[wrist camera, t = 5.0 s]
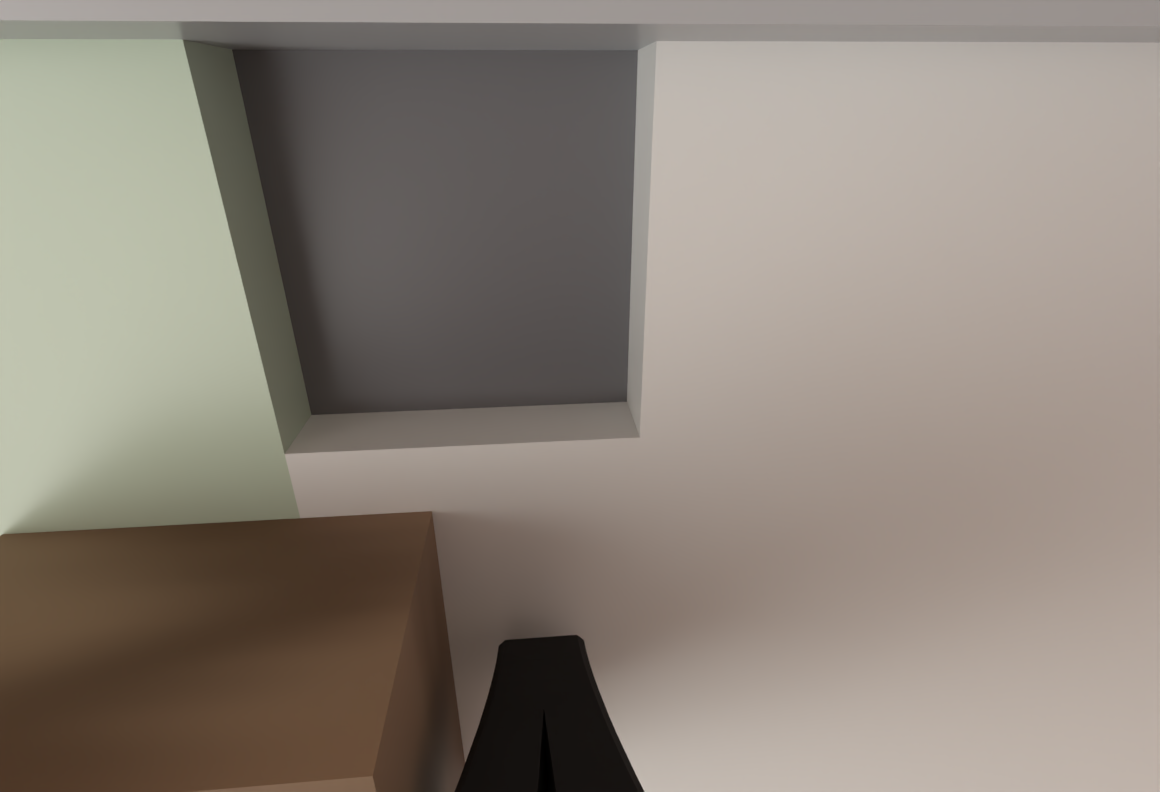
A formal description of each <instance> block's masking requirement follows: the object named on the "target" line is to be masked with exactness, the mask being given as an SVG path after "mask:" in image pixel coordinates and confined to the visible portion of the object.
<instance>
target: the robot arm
mask: <svg viewBox="0 0 1160 792" xmlns="http://www.w3.org/2000/svg"><path fill="white" fill-rule="evenodd" d="M455 792H644V790H643V788H642V786H641V784H640V782H639V780H638V778H637V776H636V774H635V771H634V769H633V767H632V765H631V763H630V761H629V759H628V757H627V754H626V752H625V750H624V748H623V746H622V744H621V742H620V739H619V737H618V735H617V733H616V731H615V728H614V726H613V724H612V721H611V719H610V717H609V714H608V712H607V709H606V707H605V704H604V702H603V699H602V697H601V694H600V692H599V689H598V686H597V683H596V681H595V678H594V675H593V672H592V669H591V666H590V662H589V659H588V655H587V652H586V648H585V643H584V640H583V639H582V638H581V637H579V636H578V635H566V636H552V637H538V638H524V639H510V640H505V641H504V642H502V643H501V644H500V645H499V647H498V653H497V660H496V665H495V669H494V674H493V678H492V682H491V686H490V689H489V693H488V697H487V700H486V703H485V707H484V710H483V713H482V716H481V719H480V723H479V726H478V729H477V732H476V734H475V737H474V740H473V743H472V746H471V748H470V751H469V754H468V757H467V759H466V762H465V765H464V768H463V771H462V773H461V776H460V779H459V781H458V784H457V786H456V789H455Z"/></svg>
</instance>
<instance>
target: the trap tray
mask: <svg viewBox="0 0 1160 792" xmlns="http://www.w3.org/2000/svg"><path fill="white" fill-rule="evenodd" d="M426 511H432V516H433V523H434V531H435V539H436V546H437V554H438V561H439V569H440V577H441V584H442V592H443V599H444V607H445V615H446V622H447V630H448V637H449V645H450V653H451V660H452V668H453V675H454V683H455V691H456V698H457V706H458V713H459V721H460V729H461V736H462V744H463V751H464V759H465V762H466V759H467V757H468V754H469V751H470V748H471V746H472V743H473V740H474V737H475V734H476V732H477V729H478V726H479V723H480V719H481V716H482V713H483V710H484V707H485V703H486V700H487V697H488V693H489V689H490V686H491V682H492V678H493V674H494V669H495V665H496V660H497V653H498V647H499V645H500V644H501V643H502V642H504V641H505V640H510V639H524V638H538V637H552V636H566V635H578V636H579V637H581V638H582V639H583V640H584V643H585V648H586V652H587V655H588V659H589V662H590V666H591V669H592V672H593V675H594V678H595V681H596V683H597V686H598V689H599V692H600V694H601V697H602V699H603V702H604V704H605V707H606V709H607V712H608V714H609V717H610V719H611V721H612V724H613V726H614V728H615V731H616V733H617V735H618V737H619V739H620V742H621V744H622V746H623V748H624V750H625V752H626V754H627V757H628V759H629V761H630V763H631V765H632V767H633V769H634V771H635V774H636V776H637V778H638V780H639V782H640V784H641V786H642V788H643V790H644V792H1160V0H0V536H1V535H2V534H17V533H36V532H55V531H73V530H92V529H110V528H129V527H147V526H166V525H184V524H203V523H221V522H240V521H259V520H277V519H296V518H314V517H333V516H351V515H370V514H388V513H407V512H426Z"/></svg>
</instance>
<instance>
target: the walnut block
mask: <svg viewBox="0 0 1160 792" xmlns="http://www.w3.org/2000/svg"><path fill="white" fill-rule="evenodd" d="M464 765H465V759H464V751H463V744H462V736H461V729H460V721H459V713H458V706H457V698H456V691H455V683H454V675H453V668H452V660H451V653H450V645H449V637H448V630H447V622H446V615H445V607H444V599H443V592H442V584H441V577H440V569H439V561H438V554H437V546H436V539H435V531H434V523H433V516H432V511H426V512H407V513H388V514H370V515H351V516H333V517H314V518H296V519H277V520H259V521H240V522H221V523H203V524H184V525H166V526H147V527H129V528H110V529H92V530H73V531H55V532H36V533H17V534H2V535H1V536H0V792H455V789H456V786H457V784H458V781H459V779H460V776H461V773H462V771H463V768H464Z"/></svg>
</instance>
